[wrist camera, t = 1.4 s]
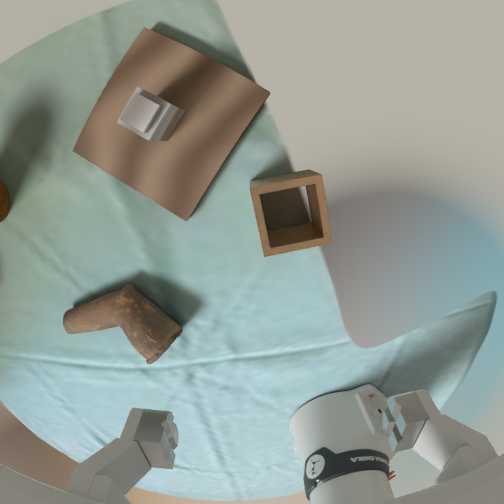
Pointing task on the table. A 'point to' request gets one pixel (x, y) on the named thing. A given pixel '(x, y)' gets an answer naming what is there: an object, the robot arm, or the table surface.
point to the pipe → (126, 321)
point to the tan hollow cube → (298, 234)
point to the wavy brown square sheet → (168, 121)
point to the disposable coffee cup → (3, 202)
